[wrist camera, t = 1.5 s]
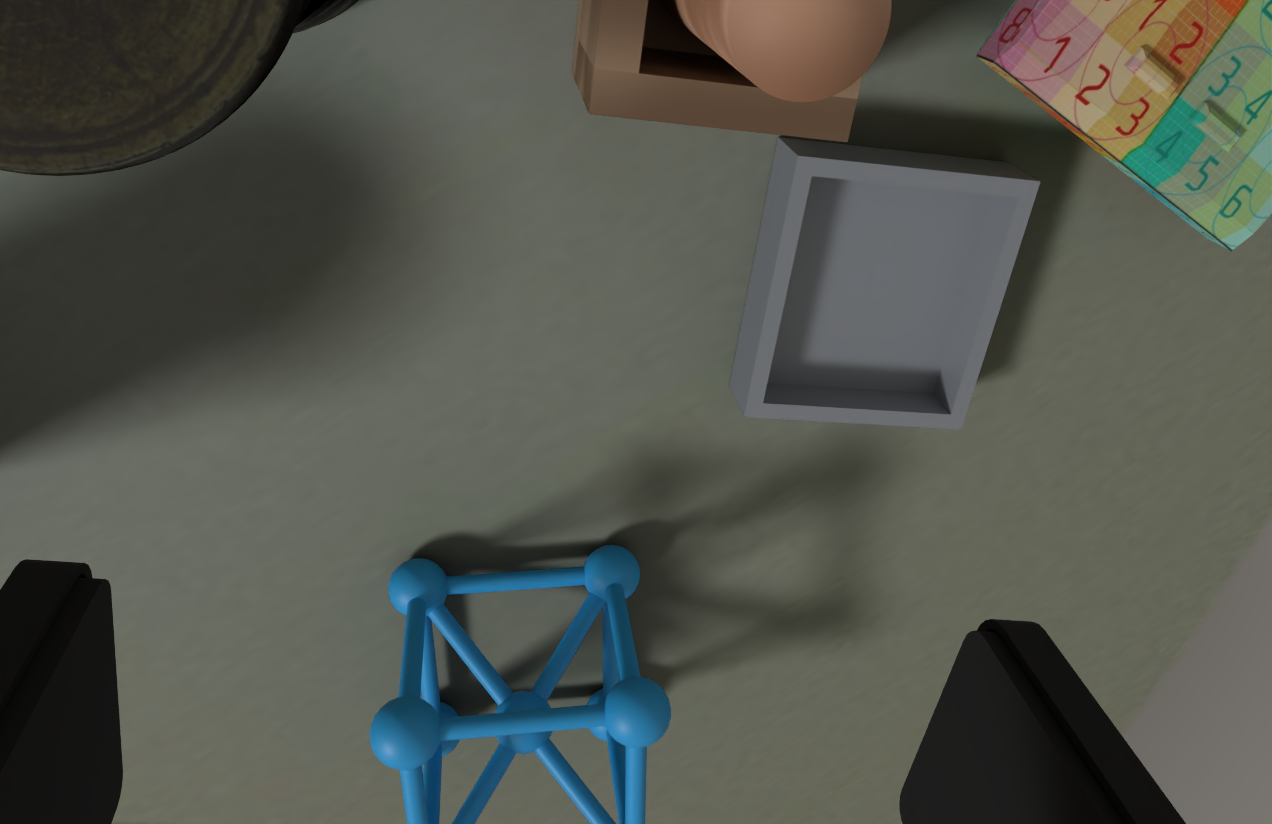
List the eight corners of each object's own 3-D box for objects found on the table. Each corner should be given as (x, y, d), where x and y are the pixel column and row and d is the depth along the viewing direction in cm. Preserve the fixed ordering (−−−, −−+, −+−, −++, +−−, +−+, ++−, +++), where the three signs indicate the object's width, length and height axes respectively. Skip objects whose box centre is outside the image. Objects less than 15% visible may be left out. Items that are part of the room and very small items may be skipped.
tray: (778, 136, 35) (797, 155, 33) (1007, 162, 36) (1040, 181, 34) (729, 385, 39) (743, 416, 37) (935, 398, 41) (961, 429, 38)
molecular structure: (636, 531, 42) (677, 708, 33) (634, 711, 47) (669, 908, 38) (387, 548, 41) (362, 736, 32) (411, 732, 45) (394, 939, 37)
